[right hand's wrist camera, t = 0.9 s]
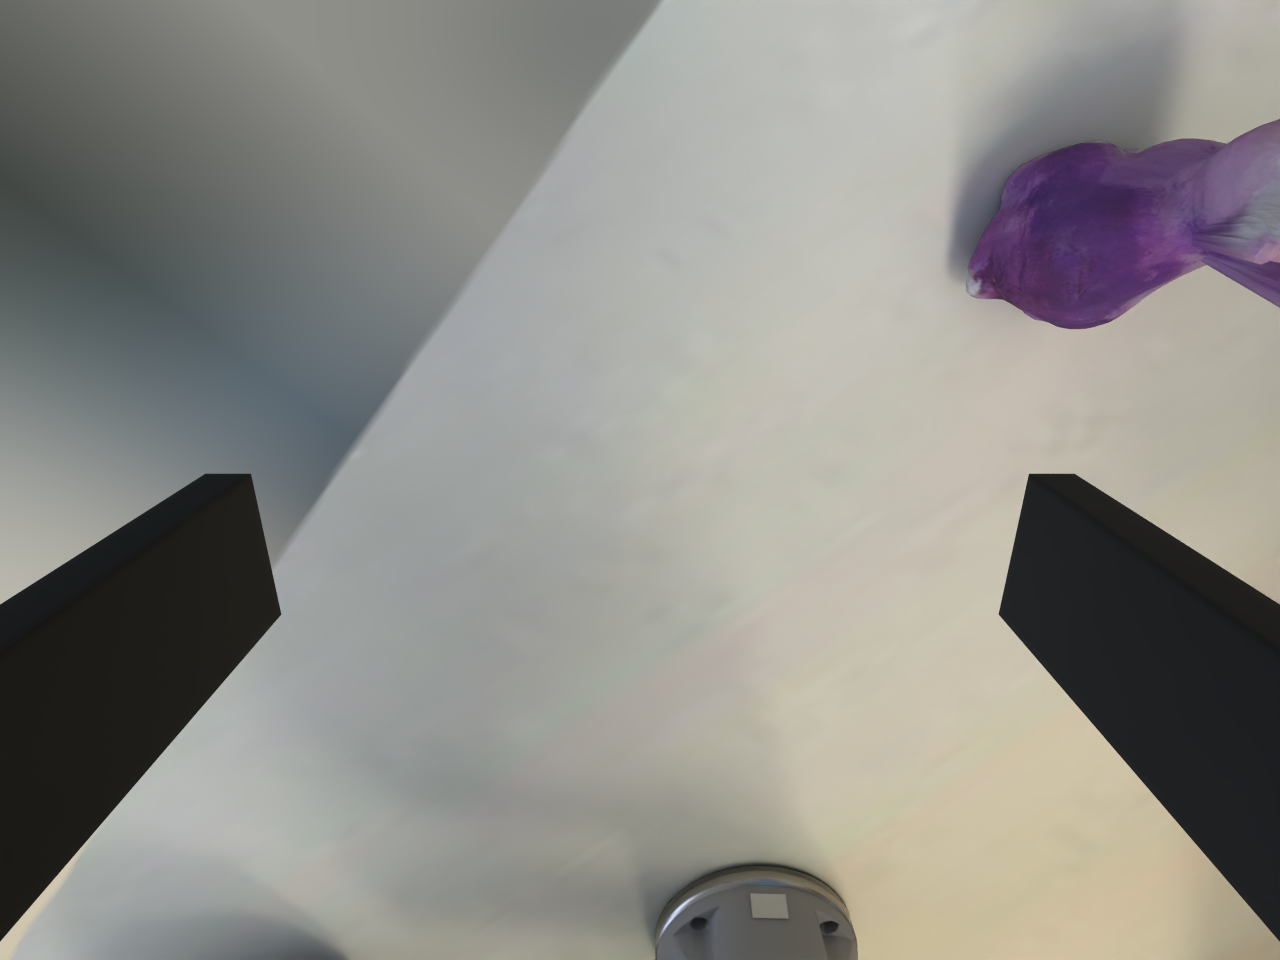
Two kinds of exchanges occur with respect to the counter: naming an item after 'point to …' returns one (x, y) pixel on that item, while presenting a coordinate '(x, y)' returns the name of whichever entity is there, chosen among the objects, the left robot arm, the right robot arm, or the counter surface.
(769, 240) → the counter surface
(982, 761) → the counter surface
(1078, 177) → the figurine
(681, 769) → the counter surface
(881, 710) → the counter surface
